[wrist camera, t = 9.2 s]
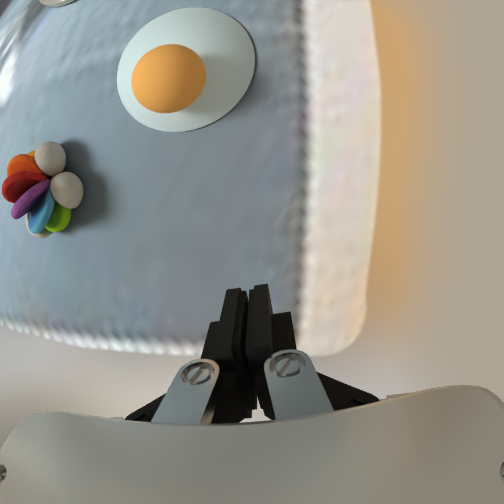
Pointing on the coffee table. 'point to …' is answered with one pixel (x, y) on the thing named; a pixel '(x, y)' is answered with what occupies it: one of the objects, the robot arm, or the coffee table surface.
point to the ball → (168, 78)
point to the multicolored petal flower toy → (42, 189)
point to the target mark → (212, 55)
